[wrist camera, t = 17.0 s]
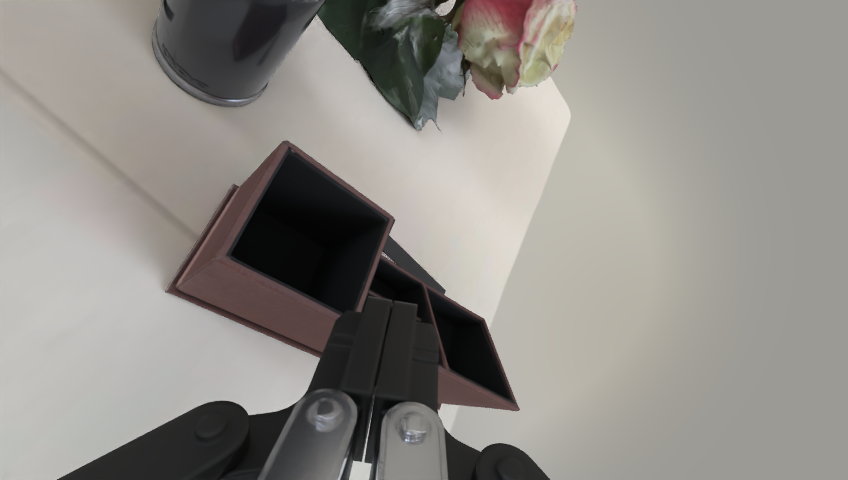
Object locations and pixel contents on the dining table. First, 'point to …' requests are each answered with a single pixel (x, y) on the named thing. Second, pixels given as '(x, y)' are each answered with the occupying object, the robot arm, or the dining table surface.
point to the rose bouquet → (450, 46)
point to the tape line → (409, 264)
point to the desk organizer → (325, 272)
